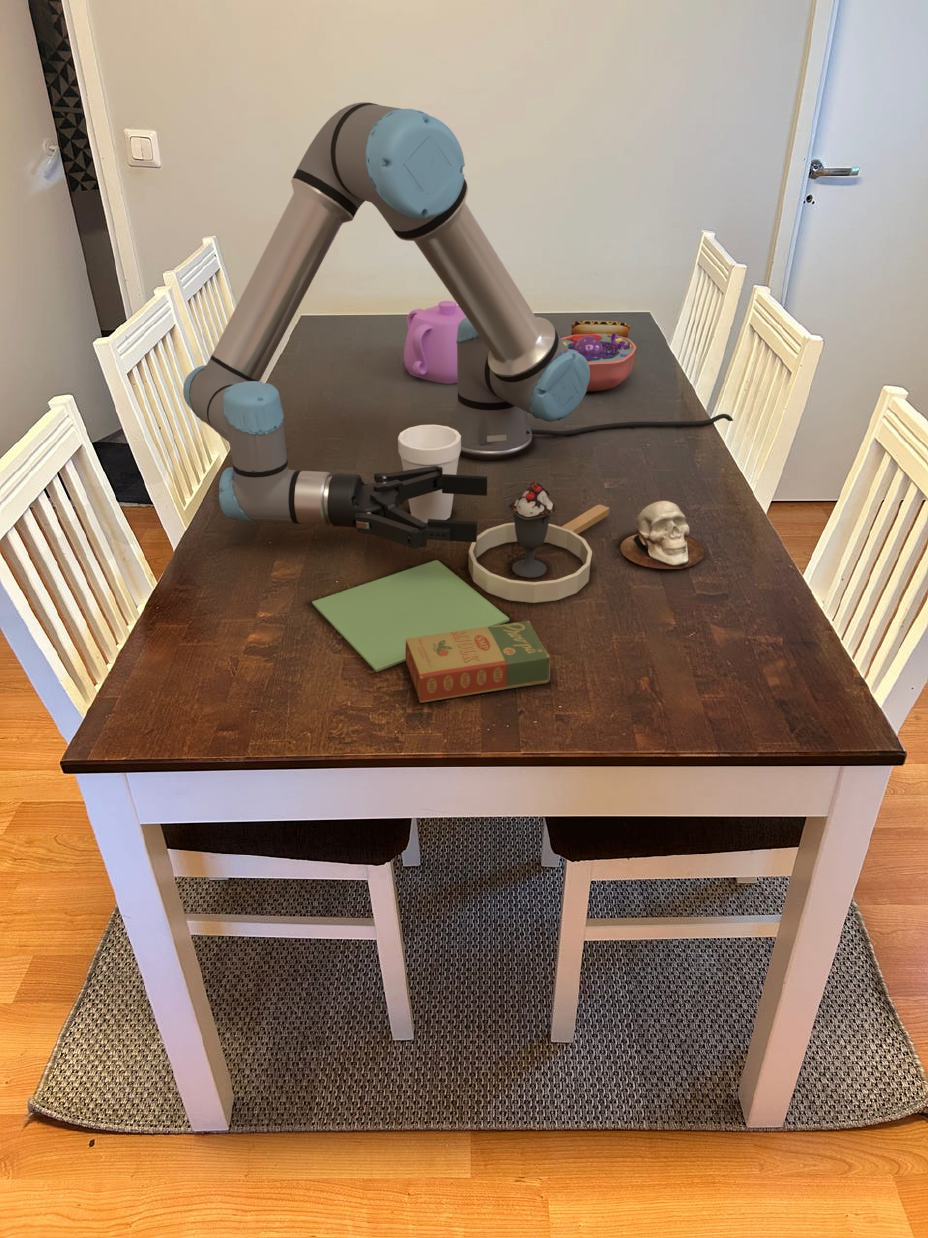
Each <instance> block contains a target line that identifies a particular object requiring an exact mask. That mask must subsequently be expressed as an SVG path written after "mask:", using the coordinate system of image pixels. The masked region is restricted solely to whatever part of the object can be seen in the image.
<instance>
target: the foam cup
mask: <svg viewBox="0 0 928 1238" xmlns="http://www.w3.org/2000/svg"><path fill="white" fill-rule="evenodd" d="M397 451H398V454H399V457H400V461H401V462H400V463H401V466H402V471H405V470H412V469H418V468H425V467H432V466H439V467H442V468H443V474H450V475H458V474H457V473H458V465H459V458H460V456H461V455H460V452H461V435H460V434H459V433H458V432H457V430H454V429H452V428H450V426H446V425H440V424H420V425H414V426H411V427H408V428H406V429H404V430H403V431H401V432H399V435H398V437H397ZM454 495H455V494H446V493H442V489H441V490H438V491H435V492H431V493H428V494H424V495H421V496H418V497H414V498H411V499H407V500H408V506H409V511H410V515H412V516H414V517H415V518H417V519H419V520H421V521H423V522H425V523H426V524H428V519H439V520H449V518H451V514H452V510H453V502H454V497H455V496H454Z"/></svg>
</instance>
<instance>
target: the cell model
mask: <svg viewBox="0 0 928 1238" xmlns="http://www.w3.org/2000/svg"><path fill="white" fill-rule="evenodd" d="M560 338H561V340H562V342H563V343H564V345H565V346H566V347H567V348H569V349H570V350H576V351H578V352H579V354H581V355H582V356H584V357H585V359H586V360H587V362H588V365H589V369H590V380H589V384H588V386H587V391H586V393H587V392H601V391H602V392H603V391H606V390H611V389H613V388H616V387H617V386H619V385H620V384H621V383H623V382H624V381H625V380H626V379H627V378H629V377H630V375H631V372H632V370H633V368H634V364H635V361H636V355H637V345H636V344H635V343H634V342H633V340H631V339H630V338H628V337H627V338H624V337H620V336H618V335H617V334H579V335H568V336H564V337H560Z"/></svg>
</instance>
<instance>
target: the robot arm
mask: <svg viewBox="0 0 928 1238" xmlns="http://www.w3.org/2000/svg"><path fill="white" fill-rule="evenodd" d="M465 166H466V165H465V157H464V152H463V149H462V147H461V144H460V142H459V140H458V138H457V136H456V135H455V134H454V132H453V131H452V129H450V128H449V126H448V125H447V124H445V123H444V122H443V121H442V120H440V119H438V118H436V117H435V116H432V115H430V114H428V113H426V112H424V111H421V110H418V109H413V108H399V107H394V106H387V105H382V104H377V103H373V102H364V101H363V102H362V101H361V102H355V103H352V104H349V105H347V106H345V107H343V108H341V109H339V110H338V111H337V112H335V113H334V114H333V115H332V116H331V117H330V118H329V119H328V120H327V121H326V122H325V123H324V124H323V126H322V127H321V128H320V129H319V131H318V132H317V134H316V135H315V136H314V138H313V140H312V141H311V143H310V144H309V146H308V148H307V150H306V151H305V153H304V155H303V156H302V158H301V160H300V162H299V164H298V166H297V168H296V169H295V172H294V174H293V176H292V177H291V180H290V183H291V187H292V190H293V194H292V196H291V198H290V199H289V201H288V203H287V205H286V207H285V210H284V211H283V213H282V215H281V216H280V219H279V221H278V223H277V225H276V227H275V229H274V231H273V233H272V235H271V237H270V239H269V241H268V243H267V245H266V247H265V248H264V251H263V253H262V255H261V257H260V258H259V261H258V263H257V265H256V267H255V268H254V271H253V273H252V275H251V277H250V279H249V280H248V283H247V284H246V286H245V289H244V291H243V292H242V294H241V296H240V298H239V300H238V302H237V304H236V307H235V308H234V310H233V312H232V314H231V316H230V318H229V320H228V322H227V324H226V326H225V328H224V331H223V332H222V334H221V336H220V338H219V340H218V342H217V343H216V346H215V348H214V350H213V352H212V354H211V356H210V358H209V360H208V361H207V363H206V365H200V366H198V367H196V368H195V369H194V370H192V371H191V372H189V374H187V376H186V377H185V380H184V382H183V387H182V395H183V399H184V402H185V404H186V405H187V406H188V407H189V409H190V410H191V411H192V412H193V414H194V415H195V416H196V418H198V419H199V420H200V421H201V422H203V423H205V424H206V425H207V426H209V427H210V428H211V429H212V430H213V431H215V432H216V433H217V434H218V435H219V436H220V437H222V439H224V440H225V441H227V443H228V444H229V450H230V454H231V460H232V466H229V467H227V468H225V469H224V471H223V472H222V473H221V476H220V479H219V483H218V490H219V494H218V502H219V506H220V510H221V512H222V513H223V515H225V516H226V517H227V518H228V519H231V520H236V521H243V522H244V521H245V522H251V523H256V524H258V523H274V524H275V523H277V524H295V525H311V526H312V527H317V526H329V525H332V526H333V527H335V528H336V527H337V528H353V529H354V528H355V530H356V533H358V534H367V535H372V536H375V537H379V538H381V539H384V540H387V541H389V542H392V543H396V544H399V545H401V546H404V547H407V548H410V549H413V550H416V549H419V548H426V547H427V546H428V540H432V541H444V542H445V541H446V542H447V541H448V542H462V543H463V542H465V543H472V542H477V536H478V521H471V520H470V521H468V520H456V519H455V520H452V519H446V520H439V519H428V523H425V522H423V521H421V520H419V519H417V518H415V517H414V516H412V515H411V513H408V512H406V511H405V510H403V509H400V508H399V507H400V506H401V505H403V504H404V502H405V501H407V500H408V499H411V498H414V497H418V496H421V495H424V494H428V493H431V492H435V491H438V490H441V489H442V493H446V494H454V495H466V496H481V497H482V496H484V497H487V495H488V476H484V475H469V474H468V475H466V474H464V475H462V474H456V475H450V474H443V468H442V467H439V466H432V467H425V468H418V469H412V470H405V471H403V470H399V471H393V472H375V473H374V474H373V482H372V483H365V482H364V481H363V478H362V477H361V475H360V474H358V473H350V472H335V473H334V474H332V473H331V472H330V471H314V470H313V471H312V470H297V469H289V461H288V455H287V454H288V453H287V444H286V443H287V442H286V434H285V424H284V421H285V420H284V417H285V414H284V409H283V407H282V401H281V397H280V396H281V395H280V392H279V390H278V389H277V387H275V386H274V385H273V384H270V383H268V382H262V381H261V380H262V377H263V375H264V374H265V372H266V369H267V368H268V366H269V364H270V362H271V361H272V358H273V356H274V355H275V353H276V351H277V349H278V347H279V345H280V343H281V341H282V340H283V338H284V335H285V334H286V332H287V330H288V328H289V326H290V325H291V323H292V321H293V318H294V317H295V314H296V312H297V311H298V308H299V307H300V305H301V303H302V301H303V299H304V297H305V296H306V293H307V291H308V289H309V288H310V286H311V284H312V282H313V281H314V279H315V276H316V274H317V273H318V271H319V269H320V267H321V265H322V263H323V261H324V260H325V257H326V255H327V253H328V251H329V250H330V247H332V244H333V243H334V240H335V238H336V236H337V234H338V233H339V230H340V229H341V226H343V224H345V223H350V222H353V220H354V218H355V216H356V215H357V212H358V210H359V209H360V208H361V206H362V205H364V203H365V202H367V203H371V204H372V205H373V206H374V207H375V208H376V210H377V211H378V212H379V213H380V215H381V216H382V217H383V219H384V221H386V223H387V224H388V226H389V227H390V229H391V230H392V232H393V233H394V235H395V236H396V237H397V238H398V239H400V240H402V241H406V242H407V241H409V242H414V243H415V245H416V246H417V248H418V249H419V251H420V252H421V253H422V255H423V256H424V258H425V259H426V261H427V262H428V263H429V265H430V267H431V268H432V269H433V271H434V272H435V274H436V275H437V277H438V278H439V280H440V281H441V282H442V284H443V285H444V287H445V288H446V289H447V291H448V292H449V294H450V295H451V297H452V298H453V300H454V302H455V303H456V305H457V306H459V307H460V308H461V310H462V311H463V313H464V314H465V315H466V318H464V319H463V320H462V321H461V322H460V323H459V325H458V332H457V340H456V343H457V383H456V385H457V387H456V388H457V401H456V402H457V403H456V406H455V409H454V412H453V416H452V419H451V423H450V426H449V427H450V428H452V429H454V430H457V432H458V433H459V434H460V435H461V452H460V455H459V456H462V457H465V458H469V459H473V460H479V461H502V460H510V459H513V458H516V457H519V456H521V455H523V454H526V453H527V452H528V451H529V450H530V449H531V448H532V444H533V442H532V441H533V435H536V436H537V435H540V436H541V435H542V436H555V437H563V436H574V435H578V434H584V433H588V432H592V431H600V430H608V429H609V430H610V429H616V428H629V427H633V428H634V427H699V426H706V425H711V424H713V423H714V424H715V423H716V422H718V421H720V420H722V419H725V420H727V421H728V422H733V421H734V419H733V417H732V416H731V415H729V414H727V413H719V414H717V415H716V416H713V417H712V418H709V419H705V420H703V419H702V420H687V421H686V420H685V421H683V420H682V421H680V420H679V421H625V422H623V421H622V422H613V423H605V424H596V425H590V426H584V427H581V428H575V429H569V430H552V429H551V430H550V429H531V425H530V422H529V418H528V415H527V414H530V415H531V416H532V417H534V418H535V419H539V420H543V421H545V422H549V423H550V422H551V423H553V422H557V421H558V422H559V421H561V420H564V419H565V418H567V417H569V416H570V415H571V414H572V413H573V412H574V411H575V410H577V408H578V407H579V406H580V405H581V403H582V401H583V399H584V398H585V395H586V393H587V392H586V391H587V386H588V384H589V380H590V369H589V365H588V362H587V360H586V359H585V357H584V356H582V355H581V354H579V352H578V351H576V350H570V349H569V348H567V347H566V346H565V345H564V343H563V342H562V340H561V338H562V337H560V335H559V334H558V332H557V330H556V329H555V327H554V325H553V324H552V322H551V321H550V320H548V319H546V318H544V317H539V316H535V313H534V312H533V310H532V309H531V307H530V306H529V304H528V302H527V301H526V299H525V297H524V296H523V294H522V293H521V291H520V289H519V287H518V286H517V284H516V283H515V281H514V280H513V278H512V276H511V274H510V273H509V271H508V270H507V268H506V266H505V265H504V263H503V261H502V259H501V258H500V257H499V255H498V254H497V252H496V250H495V248H494V247H493V245H492V244H491V242H490V241H489V239H488V236H487V235H486V234H485V233H484V230H483V229H482V227H481V226H480V224H479V222H478V221H477V219H476V217H475V216H474V214H473V213H472V211H471V209H470V208H469V206H468V205H467V202H466V200H467V196H468V193H469V185H468V183H467V180H466V179H465V173H463V172H464V171H463V170H464V167H465ZM409 537H410V538H409Z"/></svg>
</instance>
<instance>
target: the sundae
mask: <svg viewBox="0 0 928 1238" xmlns="http://www.w3.org/2000/svg"><path fill="white" fill-rule="evenodd" d="M549 497H550V491H549V490H548V489H547V488H546V487H544V486H543V485H541V484H540V483H536V480H535V479H533V480H532V481H531V484H530V485H529V487H527V489H525V490H524V492H523V493H522V495H519V496H516V497H515V498H513V499H512V500H510V502H508V505H507V508H508V510H509V511H510V512H511V513H512V516H513V521H514V522H513V523H515V533H516V538H517V541H518V542H517V543H518V544H519V545H520V546H521V547H522V548H523V549H525V557H524V558H523V559H520V560H517V561H515V562H514V563H513V564H512V567H511V569H512V572H513V573H514V574H515V575H517V576H518V577H522V578H527V579H533V578H539V577H541V576H543V575H544V574H546V572H547V569H548V567H547V565H545V564H544V563H543V562H542V561H540V560H538V559H535V551H536V549H538V548H540V547H541V546H543V544H544V543H545V542H544V541H545V538H546V535H547V530H548V525H549V524H550V520H551V516H552V515H554V514H556V513H557V510H558V507H557V504H556V502H555V500H553V499H552V498H549Z"/></svg>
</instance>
